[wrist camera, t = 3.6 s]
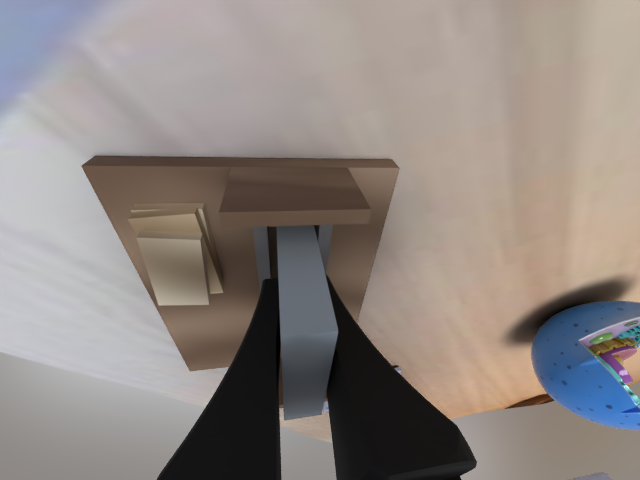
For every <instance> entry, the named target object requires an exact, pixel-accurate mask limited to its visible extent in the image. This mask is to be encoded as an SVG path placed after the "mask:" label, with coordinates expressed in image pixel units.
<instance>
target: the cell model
mask: <svg viewBox="0 0 640 480" xmlns="http://www.w3.org/2000/svg"><path fill="white" fill-rule="evenodd" d="M639 346H640V303H639V302H631V301H600V302H591V303H585V304H581V305H577V306H573V307H570V308H568V309H565V310H563V311H561V312H559V313H557V314H555V315H553V316H552V317H551V318H549V319H548V320H547V321H546V322H545V323H544V324H543V325H542V326H541V327H540V328H539V330H538V331H537V333H536V335H535V337H534V340H533V343H532V348H531V359H532V364H533V368H534V371H535V374H536V377H537V379H538V381H539V382H540V384H541V386H542V387H543V388H544V390H545V391H546V392H547V393H548V394H549V395H550V396H551V397H552V398H553V399H554V400H555V401H556V402H558V403H559V404H560V405H561V406H563V407H564V408H566V409H567V410H569V411H571V412H572V413H574V414H576V415H578V416H580V417H582V418H584V419H587V420H589V421H592V422H595V423H597V424H601V425H604V426H608V427H613V428H618V429H625V430H640V402H639V401H640V400H639V398H638V397H637V396H636V395H635V394H634V393H633V392H632V391H631V390H630V389H629V387H628V386H627V385H626V384H625V383H631V382H633V379H632V378H631V376H630V375H629V373H628V372H627V371H626V370H625V368H624V367H623V361H624V360H626V359H627V358H629V357H631V356H632V355H634V354H635V353H636V352H637V349H636V348H637V347H639Z"/></svg>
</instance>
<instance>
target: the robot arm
mask: <svg viewBox="0 0 640 480" xmlns="http://www.w3.org/2000/svg"><path fill="white" fill-rule="evenodd" d="M326 280H327V284H328V288H329V292H330V297H331V301H332V305H333V310H334V314H335V318H336V323H337V327H338V336H337V341H336V345H335V350H334V355H333V360H332V365H331V370H330V375H329V380H328V385H327V389H326V392H327V400H328V401H326V402H324V404H323V412H325V413H326V412H329V416H330V424H331V432H332V441H333V449H334V458H335V467H336V477H337V480H461V478H460V476H461V475H462V474H464V473H467V472H468V471H470V470H472V469H474V468H475V467H476V463H477V461H476V459H475V458H474V456H473V453H472V451H471V449H470V447H469V445H468V443H467V442H466V440H465V438H464V437H463V435H462V433H461V432H460V430H459V428H458V427H457V425H455V424H454V423H453V422H452V421H451V420H450V419H448V418H447V417H446V416H445V415H444V414H442V413H441V412H440V411H439V410H438V409H437V408H435V407H434V406H433V405H432V404H431V403H430V402H429V401H427V400H426V399H425V398H424V397H423V396H422V395H421V394H420V393H419V392H418V391H417V390H416V389H414V388H413V387H412V386H411V385H410V384H409V383H408V382H407V381H406V380H405V379H404V378H403V377H402V376H401V375H400V373H401V369H400V368H398V367H397V368H393V366H392V365H391V364H390V363H389V362H388V361H387V360H386V359H385V358H384V357H383V356H382V354H381V353H380V352H379V351H378V350H377V349H376V347H375V346H374V345H373V344H372V343H371V341H370V340H369V339H368V338H367V336H366V335H365V334H364V332H363V331H362V330H361V328H360V327H359V326H358V324H357V323H356V322H355V320H354V319H353V317H352V316H351V314H350V313H349V311H348V310H347V308H346V307H345V305H344V304H343V302H342V300H341V299H340V297H339V295H338V294H337V292H336V290H335V288H334V286H333V285H332V283H331V281H330V279H329V277H328V276H327V275H326ZM280 351H281V336H280V309H279V281H278V278H273V279H265V280H263V282H262V288H261V292H260V296H259V300H258V303H257V306H256V309H255V311H254V314H253V317H252V320H251V322H250V325H249V327H248V329H247V332H246V334H245V336H244V338H243V341H242V343H241V345H240V347H239V349H238V351H237V353H236V355H235V357H234V359H233V361H232V363H231V365H230V367H229V369H228V371H227V373H226V374H225V376H224V378H223V380H222V381H221V383H220V385H219V387H218V388H217V390H216V392H215V393H214V395H213V397H212V398H211V400H210V402H209V403H208V405H207V406H206V408H205V409H204V411H203V412H202V414H201V415H200V417H199V419H198V420H197V422H196V423H195V425H194V426H193V428H192V429H191V431H190V432H189V434H188V435H187V437H186V438H185V440H184V441H183V442H182V444H181V445H180V447H179V448H178V449H177V451H176V452H175V453H174V455H173V456H172V458H171V459H170V460H169V462H168V463H167V465H166V466H165V467H164V469H163V470H162V472H161V473H160V475H159V477H158V478H157V480H281V453H280V420H279V370H280ZM570 480H611V478H610V477H609V476H608V474H607V473H604V472H600V473H595V474H591V475H586V476H582V477H578V478H574V479H570Z"/></svg>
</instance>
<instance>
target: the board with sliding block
mask: <svg viewBox="0 0 640 480" xmlns="http://www.w3.org/2000/svg"><path fill="white" fill-rule="evenodd" d="M82 168H83V170H84V172H85V174H86V176H87V178H88V179H89V181H90V183H91V185H92V187H93V189H94V191H95V193H96V195H97V196H98V198H99V200H100V202H101V204H102V206H103V208H104V210H105V212H106V213H107V215H108V217H109V219H110V221H111V223H112V225H113V227H114V229H115V231H116V232H117V234H118V236H119V238H120V240H121V242H122V244H123V246H124V248H125V249H126V251H127V253H128V255H129V257H130V259H131V261H132V263H133V265H134V266H135V268H136V270H137V272H138V274H139V276H140V278H141V280H142V282H143V283H144V285H145V287H146V289H147V291H148V293H149V295H150V297H151V299H152V300H153V302H154V304H155V306H156V308H157V310H158V312H159V314H160V316H161V317H162V319H163V321H164V323H165V325H166V327H167V329H168V331H169V333H170V334H171V336H172V338H173V340H174V342H175V344H176V346H177V348H178V350H179V351H180V353H181V355H182V357H183V359H184V361H185V363H186V365H187V367H188V368H189V370H190V371H197V370H205V369H214V368H223V367H230V365H231V363H232V361H233V359H234V357H235V355H236V353H237V351H238V349H239V347H240V345H241V343H242V341H243V338H244V336H245V334H246V332H247V329H248V327H249V325H250V322H251V320H252V317H253V314H254V311H255V309H256V306H257V303H258V300H259V296H260V292H261V288H262V282H263V280H265V279H273V278H278V253H277V226H305V225H314V228H315V232H316V236H317V241H318V245H319V249H320V254H321V258H322V262H323V267H324V271H325V275H327V276H328V277H329V279H330V281H331V283H332V285H333V286H334V288H335V290H336V292H337V294H338V295H339V297H340V299H341V300H342V302H343V304H344V305H345V307H346V308H347V310H348V311H349V313H350V314H351V316H352V317H353V319H354V320H355V322H356V323H357V320H358V317H359V313H360V310H361V306H362V302H363V299H364V295H365V292H366V288H367V284H368V281H369V277H370V273H371V270H372V266H373V263H374V259H375V255H376V252H377V248H378V245H379V241H380V237H381V234H382V230H383V227H384V223H385V219H386V216H387V212H388V209H389V205H390V201H391V198H392V194H393V190H394V187H395V183H396V180H397V176H398V172H399V169H400V168H399V167H398V166H397V165H396V164H395V162H394V161H393V160H378V159H294V158H210V157H126V156H94V157H93V158H92V159H90V160H89V161H87V162H86V163H85V164H83V165H82ZM165 203H204V204H205V208H206V212H207V216H208V220H209V224H210V229H211V233H212V237H213V241H214V245H215V249H216V253H217V258H218V262H219V266H220V270H221V274H222V278H223V282H224V291H223V293H214V294H210V295H211V298H210V303H209V305H162V306H159V305H158V302H157V299H156V296H155V293H154V290H153V287H152V284H151V281H150V278H149V275H148V272H147V269H146V266H145V263H144V260H143V256H142V253H141V250H140V247H139V244H138V241H137V238H136V237H137V235H136V233H135V231H134V230H133V228H132V226H131V224H130V223H129V221H128V217H129V216H130V215H131V213H132V212H131V209H132V208H133V207H134V205H135V204H165ZM326 401H328V400H327V392H326V394H325V399H324V402H326ZM279 408H284V406H283V383H282V360H281V351H280V370H279Z"/></svg>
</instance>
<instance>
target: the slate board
mask: <svg viewBox="0 0 640 480" xmlns="http://www.w3.org/2000/svg"><path fill="white" fill-rule="evenodd" d="M277 253H278V281H279V309H280V336H281V360H282V383H283V406H284V420H289V419H296V418H302V417H309V416H315V415H321V414H322V409H323V404H324V399H325V394H326V389H327V385H328V380H329V375H330V370H331V365H332V360H333V355H334V350H335V345H336V341H337V336H338V327H337V323H336V318H335V314H334V310H333V305H332V301H331V297H330V292H329V288H328V284H327V280H326V275H325V271H324V267H323V262H322V258H321V254H320V249H319V245H318V241H317V236H316V232H315V228H314V225H305V226H277Z"/></svg>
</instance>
